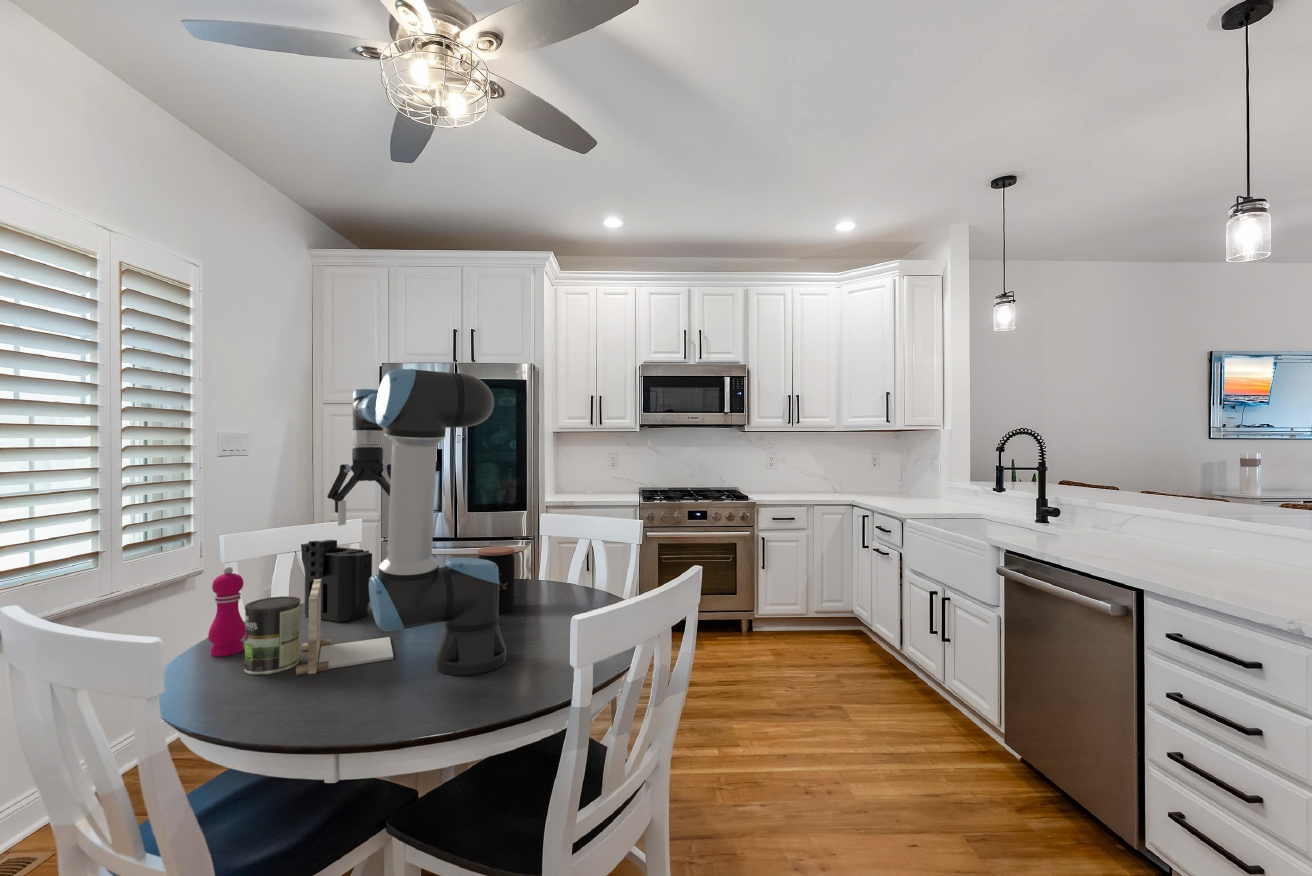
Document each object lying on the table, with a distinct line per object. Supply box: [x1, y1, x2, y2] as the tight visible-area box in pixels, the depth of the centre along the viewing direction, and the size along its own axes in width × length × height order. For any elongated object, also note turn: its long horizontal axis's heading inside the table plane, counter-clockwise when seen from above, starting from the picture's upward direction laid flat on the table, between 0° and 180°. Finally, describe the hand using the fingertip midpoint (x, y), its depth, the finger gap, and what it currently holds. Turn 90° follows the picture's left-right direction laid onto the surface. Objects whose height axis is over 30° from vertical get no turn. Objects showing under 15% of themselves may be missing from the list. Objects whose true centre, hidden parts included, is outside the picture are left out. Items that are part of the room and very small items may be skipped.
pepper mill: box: [207, 566, 245, 658], centre depth 138 cm, size 7×7×20 cm
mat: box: [318, 636, 394, 670], centre depth 137 cm, size 15×15×1 cm
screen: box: [295, 579, 332, 676], centre depth 134 cm, size 20×6×16 cm, turn 28°
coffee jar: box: [477, 545, 516, 614], centre depth 173 cm, size 11×11×18 cm
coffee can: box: [244, 596, 301, 676], centre depth 129 cm, size 10×10×14 cm
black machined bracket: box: [300, 539, 373, 623], centre depth 166 cm, size 12×21×22 cm, turn 67°
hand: (367, 525), depth 158 cm, fingers open, 13 cm apart
